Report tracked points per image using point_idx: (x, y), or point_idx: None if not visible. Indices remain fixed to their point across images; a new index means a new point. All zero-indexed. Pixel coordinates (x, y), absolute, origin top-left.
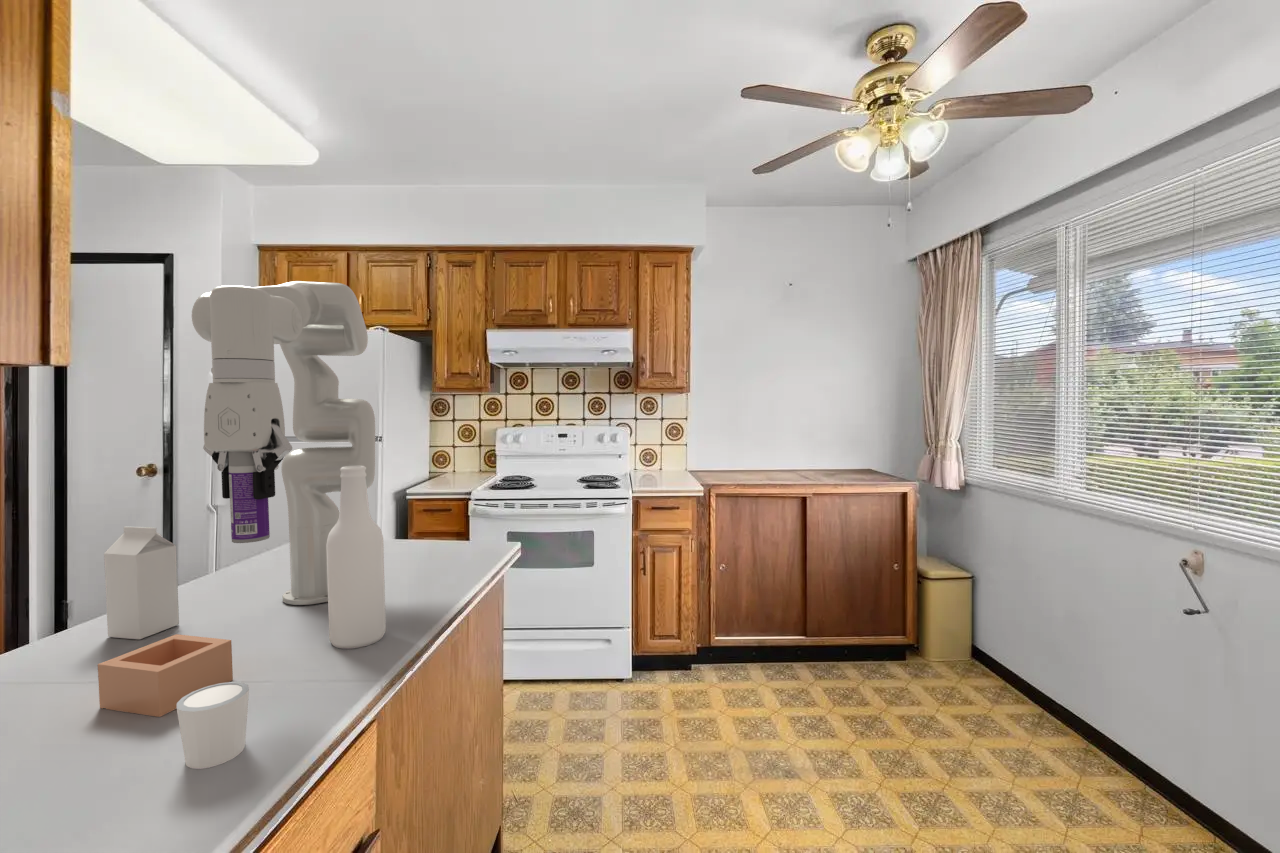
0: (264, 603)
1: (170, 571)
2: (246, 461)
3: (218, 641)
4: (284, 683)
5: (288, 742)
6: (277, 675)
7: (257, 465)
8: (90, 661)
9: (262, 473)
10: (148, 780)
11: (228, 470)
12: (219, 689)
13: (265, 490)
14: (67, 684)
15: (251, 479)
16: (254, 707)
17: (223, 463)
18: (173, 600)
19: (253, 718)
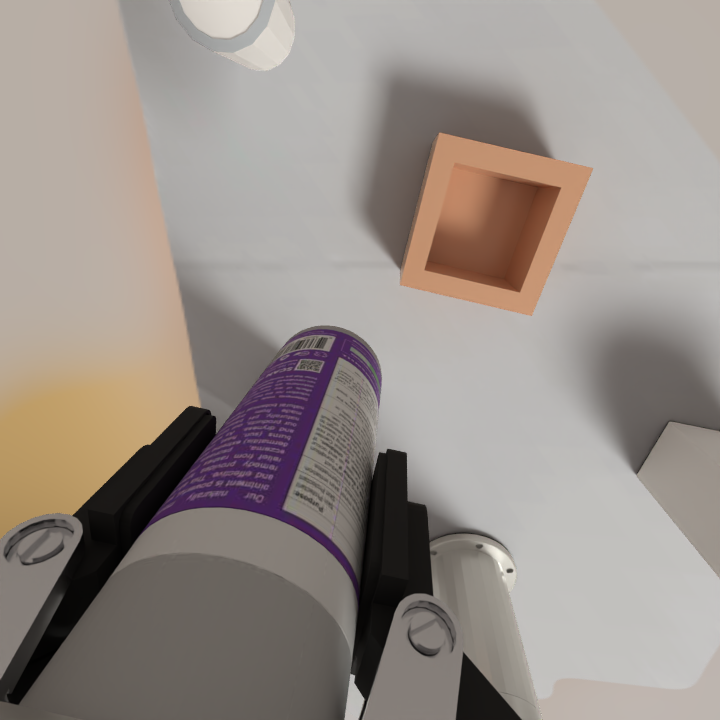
0: (537, 547)
1: (712, 549)
2: (102, 603)
3: (420, 278)
4: (309, 257)
5: (174, 66)
6: (338, 285)
7: (44, 563)
8: (704, 344)
9: (85, 524)
10: None
11: (381, 609)
12: (230, 13)
13: (144, 447)
14: (683, 258)
15: (175, 489)
16: (302, 177)
17: (396, 655)
18: (667, 502)
19: (279, 141)
